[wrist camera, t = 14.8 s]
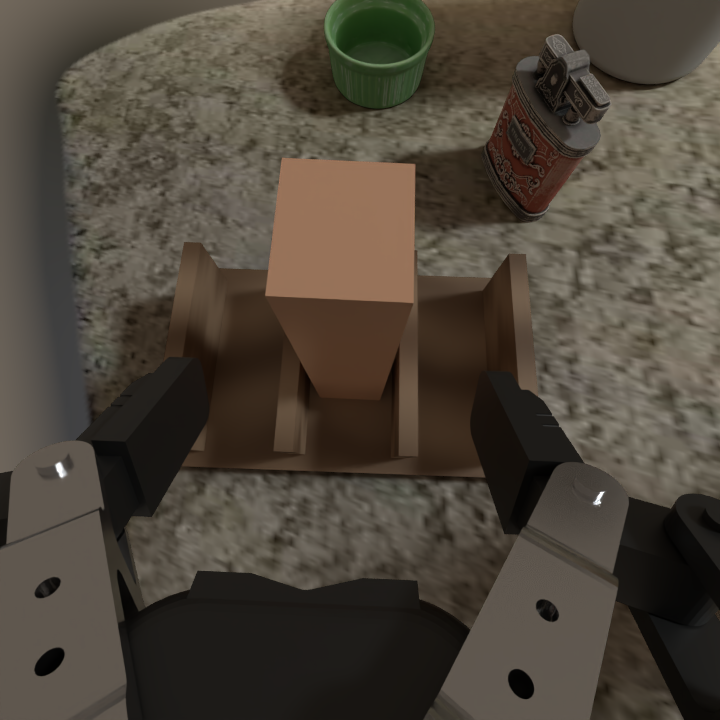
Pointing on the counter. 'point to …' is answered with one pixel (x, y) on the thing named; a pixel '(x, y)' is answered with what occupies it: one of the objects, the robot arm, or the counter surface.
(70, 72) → the counter surface
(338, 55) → the ramekin
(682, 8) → the cylinder vase
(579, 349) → the counter surface
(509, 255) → the wooden slotted holder
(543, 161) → the lighter
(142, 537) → the counter surface
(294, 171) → the clay bar
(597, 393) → the counter surface
